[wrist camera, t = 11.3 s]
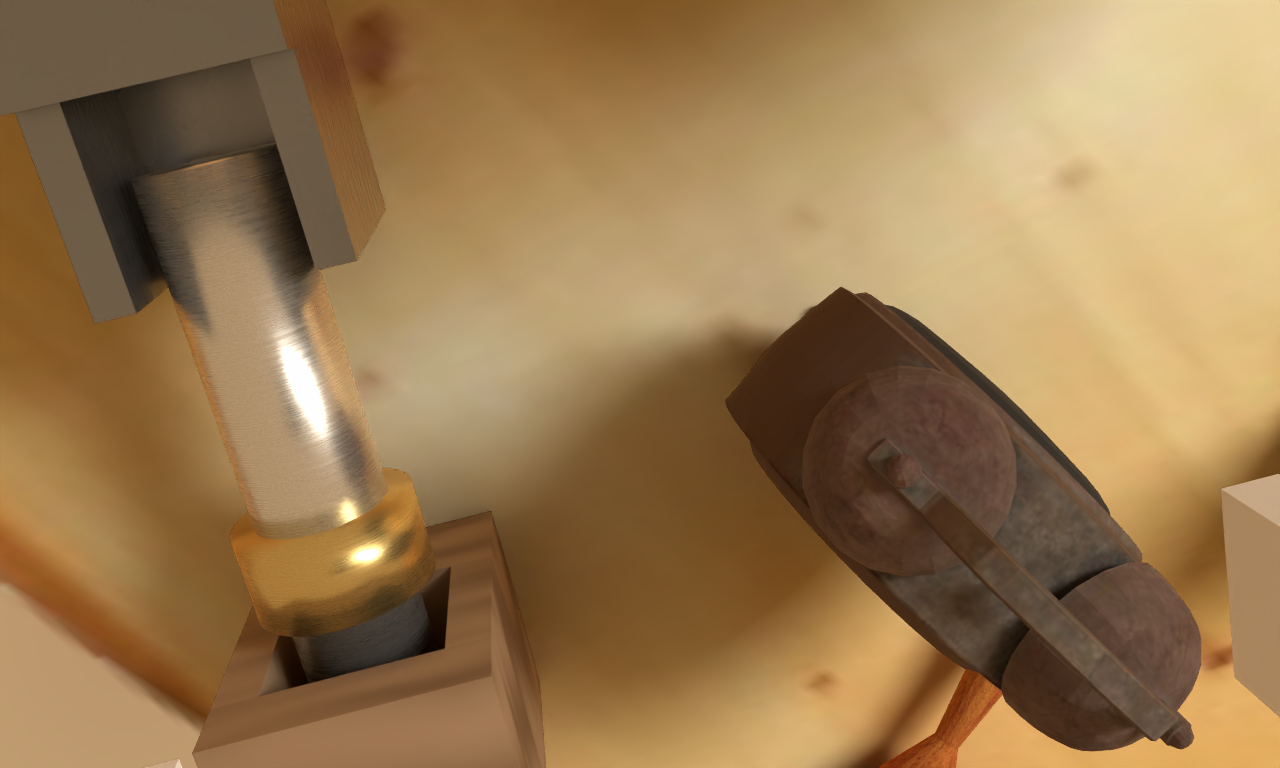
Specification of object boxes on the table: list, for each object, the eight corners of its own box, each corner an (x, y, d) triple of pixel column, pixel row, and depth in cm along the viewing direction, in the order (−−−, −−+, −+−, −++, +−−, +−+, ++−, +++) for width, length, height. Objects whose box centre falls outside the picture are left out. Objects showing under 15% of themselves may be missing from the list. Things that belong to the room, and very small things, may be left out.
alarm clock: (1041, 454, 50) (1383, 722, 31) (916, 575, 51) (1171, 907, 32) (806, 216, 46) (1031, 355, 27) (673, 351, 47) (799, 580, 28)
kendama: (1173, 592, 48) (913, 992, 50) (1077, 531, 53) (846, 895, 56) (1075, 540, 46) (806, 963, 48) (985, 481, 51) (747, 864, 53)
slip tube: (135, 171, 38) (73, 198, 33) (319, 128, 39) (290, 147, 33) (313, 677, 44) (287, 775, 38) (472, 637, 44) (469, 728, 39)
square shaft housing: (69, -58, 40) (-77, -86, 30) (293, -109, 40) (226, -153, 30) (179, 258, 43) (82, 332, 33) (385, 209, 44) (353, 267, 33)
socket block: (268, 567, 47) (192, 753, 35) (491, 511, 48) (491, 676, 36) (327, 737, 50) (276, 965, 38) (539, 682, 50) (555, 890, 38)
